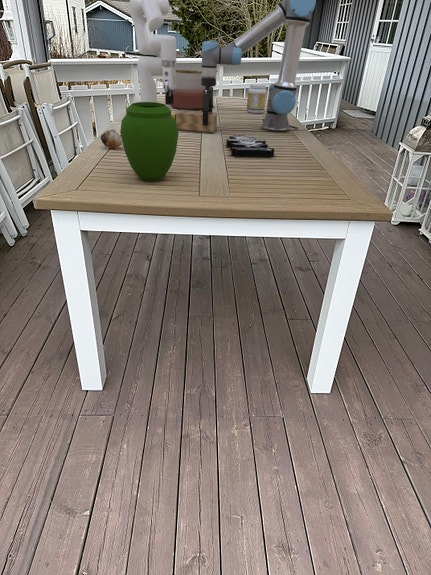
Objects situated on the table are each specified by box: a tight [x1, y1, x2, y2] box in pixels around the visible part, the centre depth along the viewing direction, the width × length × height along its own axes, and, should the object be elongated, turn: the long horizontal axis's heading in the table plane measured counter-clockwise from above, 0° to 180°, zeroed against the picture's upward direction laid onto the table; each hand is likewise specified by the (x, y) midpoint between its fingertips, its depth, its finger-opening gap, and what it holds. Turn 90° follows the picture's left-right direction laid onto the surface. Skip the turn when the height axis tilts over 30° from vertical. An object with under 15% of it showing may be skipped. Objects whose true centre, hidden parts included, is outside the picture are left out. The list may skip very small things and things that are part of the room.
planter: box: [170, 69, 205, 111], centre depth 276 cm, size 25×25×22 cm
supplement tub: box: [246, 83, 267, 114], centre depth 274 cm, size 12×12×17 cm
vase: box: [119, 101, 179, 182], centre depth 140 cm, size 20×20×24 cm
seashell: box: [100, 128, 123, 149], centre depth 178 cm, size 10×6×8 cm, turn 91°
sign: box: [225, 134, 275, 158], centre depth 189 cm, size 19×3×30 cm
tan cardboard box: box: [175, 109, 218, 135], centre depth 218 cm, size 20×11×9 cm, turn 80°
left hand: (169, 103), depth 216 cm, fingers open, 3 cm apart
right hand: (207, 123), depth 218 cm, fingers closed on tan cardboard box, 11 cm apart
